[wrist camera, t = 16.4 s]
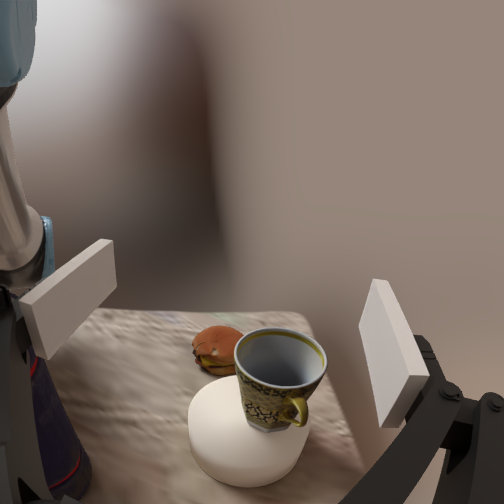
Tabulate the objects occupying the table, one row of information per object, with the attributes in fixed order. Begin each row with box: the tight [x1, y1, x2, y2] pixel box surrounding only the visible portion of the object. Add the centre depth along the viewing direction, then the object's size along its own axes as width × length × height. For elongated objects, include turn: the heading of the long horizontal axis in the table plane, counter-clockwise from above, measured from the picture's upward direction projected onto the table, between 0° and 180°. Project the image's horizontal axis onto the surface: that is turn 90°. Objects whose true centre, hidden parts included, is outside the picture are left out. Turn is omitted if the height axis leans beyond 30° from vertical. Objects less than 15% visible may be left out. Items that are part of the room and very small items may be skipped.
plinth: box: [188, 375, 310, 488], centre depth 37 cm, size 15×15×6 cm
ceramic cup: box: [234, 327, 328, 433], centre depth 34 cm, size 13×10×10 cm
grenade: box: [10, 293, 92, 501], centre depth 20 cm, size 14×12×30 cm
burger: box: [192, 326, 244, 375], centre depth 54 cm, size 10×9×5 cm
